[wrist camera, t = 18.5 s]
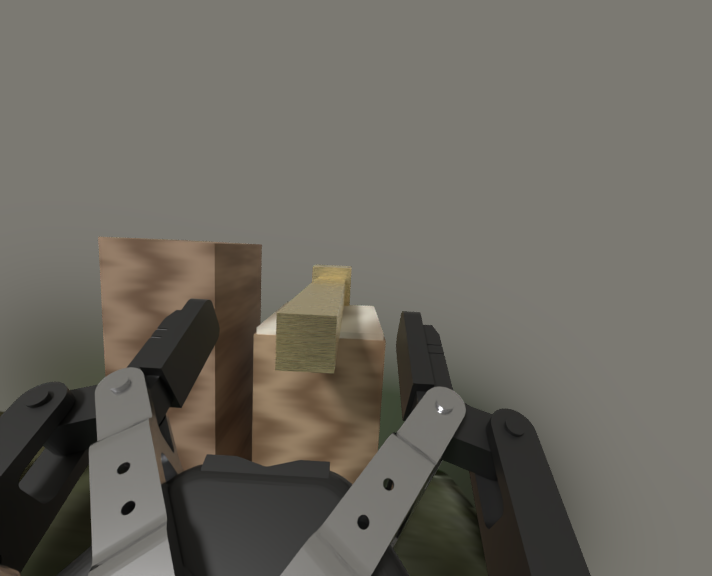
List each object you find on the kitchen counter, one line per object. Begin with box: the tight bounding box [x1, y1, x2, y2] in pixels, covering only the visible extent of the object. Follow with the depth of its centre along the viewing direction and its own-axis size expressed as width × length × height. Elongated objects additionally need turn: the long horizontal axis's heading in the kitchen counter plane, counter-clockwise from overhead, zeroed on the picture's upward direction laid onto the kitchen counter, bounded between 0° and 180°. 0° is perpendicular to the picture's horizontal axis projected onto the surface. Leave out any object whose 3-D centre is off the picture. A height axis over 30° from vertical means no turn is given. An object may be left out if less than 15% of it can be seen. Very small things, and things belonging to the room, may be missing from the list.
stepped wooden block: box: [98, 237, 385, 484], centre depth 36 cm, size 26×14×36 cm, turn 90°
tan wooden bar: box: [275, 265, 351, 374], centre depth 31 cm, size 5×26×5 cm, turn 1°
